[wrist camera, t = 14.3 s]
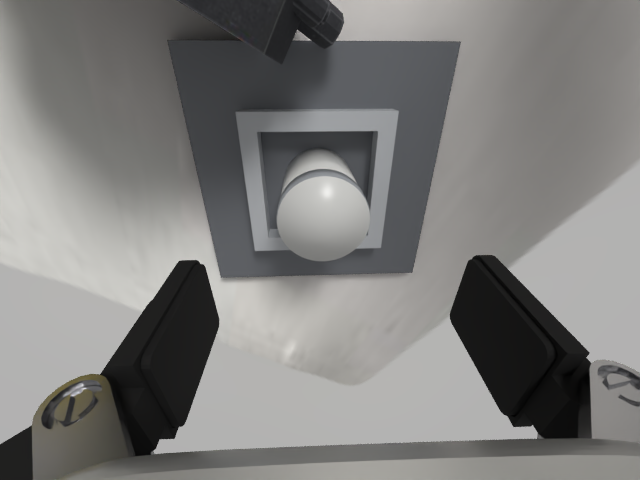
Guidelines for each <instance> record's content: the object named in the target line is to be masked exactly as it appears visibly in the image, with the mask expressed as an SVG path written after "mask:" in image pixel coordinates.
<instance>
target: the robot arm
mask: <svg viewBox="0 0 640 480" xmlns="http://www.w3.org/2000/svg"><path fill="white" fill-rule="evenodd" d="M450 320H451V323H452V325H453V326H454V328H455V330H456V332H457V333H458V335H459V337H460V339H461V341H462V342H463V344H464V346H465V348H466V350H467V352H468V354H469V355H470V357H471V359H472V361H473V362H474V364H475V366H476V368H477V370H478V372H479V373H480V375H481V377H482V379H483V381H484V382H485V384H486V386H487V388H488V390H489V391H490V393H491V395H492V397H493V399H494V400H495V402H496V404H497V406H498V407H499V409H500V411H501V412H502V413H503V414H504V415H506V416H508V418H509V419H510V421H511V423H512V425H513V427H522V426H523V427H524V426H532V425H533V426H534V427H535V429H536V430H537V432H538V437H537V439H508V440H479V441H478V440H475V441H443V442H413V443H387V444H386V443H385V444H357V445H333V446H332V445H330V446H307V447H306V446H304V447H280V448H258V449H257V448H256V449H232V450H213V451H198V452H197V451H196V452H180V453H164V454H154V452H153V450H155V449H156V447H157V444H158V442H159V439H174V438H175V435H176V433H177V430H178V427H179V426H180V427H181V426H183V425H184V424H185V422H186V420H187V417H188V414H189V411H190V408H191V405H192V402H193V399H194V397H195V394H196V391H197V388H198V385H199V382H200V379H201V377H202V374H203V371H204V368H205V365H206V362H207V359H208V357H209V354H210V351H211V348H212V345H213V342H214V339H215V337H216V334H217V331H218V328H219V316H218V313H217V309H216V305H215V301H214V298H213V294H212V290H211V287H210V283H209V279H208V275H207V272H206V268H205V266H204V265H203V264H200V263H199V261H197V260H185V261H179V262H178V263H177V265H176V266H175V268H174V269H173V270H172V272H171V273H170V275H169V276H168V278H167V279H166V281H165V282H164V284H163V285H162V287H161V288H160V290H159V291H158V293H157V294H156V296H155V297H154V299H153V300H152V301H151V302H150V303H149V304H148V305H147V306H146V308H145V309H144V311H143V312H142V314H141V315H140V317H139V318H138V320H137V321H136V323H135V324H134V326H133V327H132V329H131V330H130V331H129V333H128V334H127V336H126V337H125V339H124V340H123V342H122V343H121V345H120V346H119V348H118V349H117V351H116V352H115V354H114V355H113V356H112V358H111V359H110V361H109V362H108V364H107V365H106V367H105V368H104V370H103V371H102V373H101V374H100V375H99V374H89V375H85V376H80V377H78V378H76V379H73V380H71V381H69V382H67V383H65V384H64V385H62V386H61V387H59V388H58V389H56V390H55V391H54V392H53V393H52V394H50V395H49V396H48V397H47V398H46V399H45V401H44V402H43V403H42V404H41V405H40V406H39V408H38V410H37V411H36V413H35V415H34V418H33V422H32V426H30V427H29V428H27V429H25V430H23V431H22V432H20V433H19V434H17V435H15V436H13V437H12V438H10V439H8V440H7V441H5V442H4V443H2V444H0V480H640V373H639V372H637V371H636V370H634V369H632V368H630V367H628V366H626V365H623V364H620V363H617V362H614V361H609V360H597V361H594V362H593V363H590V361H589V360H588V359H587V358H586V357H587V356H588V355H589V352H588V351H587V350H586V349H585V348H584V347H583V346H582V345H581V344H580V342H579V341H577V339H576V338H575V337H574V336H573V335H572V334H571V333H570V332H569V331H568V330H567V329H566V328H565V327H564V326H563V325H562V324H561V323H560V322H559V321H558V320H557V319H556V318H555V317H554V316H553V315H552V314H551V313H550V312H549V311H548V310H547V309H546V308H545V307H544V306H543V305H542V304H541V303H540V302H539V301H538V300H537V299H536V298H535V297H534V296H533V295H532V294H531V293H530V291H529V290H528V289H527V288H526V287H525V286H524V285H523V284H522V283H521V282H520V281H518V279H517V278H516V277H515V276H514V275H513V274H512V273H511V272H510V271H509V270H508V269H507V268H506V267H505V266H504V265H503V264H502V263H501V262H500V261H499V260H498V259H497V258H496V257H495V256H493V255H476V256H474V257H473V258H472V260H469V261H468V263H467V266H466V269H465V271H464V274H463V277H462V280H461V283H460V286H459V289H458V292H457V295H456V298H455V300H454V303H453V306H452V309H451V312H450Z"/></svg>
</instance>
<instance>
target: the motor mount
mask: <svg viewBox="0 0 640 480" xmlns="http://www.w3.org/2000/svg"><path fill="white" fill-rule="evenodd" d="M167 41H168V45H169V50H170V54H171V59H172V63H173V67H174V72H175V76H176V81H177V85H178V90H179V94H180V98H181V103H182V107H183V112H184V116H185V120H186V125H187V129H188V134H189V138H190V143H191V147H192V151H193V156H194V160H195V165H196V169H197V173H198V178H199V182H200V187H201V191H202V196H203V200H204V204H205V209H206V213H207V218H208V222H209V226H210V231H211V235H212V240H213V244H214V249H215V253H216V257H217V262H218V266H219V271H220V275H221V278H222V277H260V276H299V275H337V274H376V273H412V272H413V267H414V262H415V257H416V253H417V248H418V243H419V238H420V234H421V229H422V224H423V219H424V214H425V210H426V205H427V200H428V195H429V191H430V186H431V181H432V176H433V172H434V167H435V162H436V157H437V152H438V148H439V143H440V138H441V133H442V129H443V124H444V119H445V114H446V110H447V105H448V100H449V95H450V91H451V86H452V81H453V76H454V71H455V67H456V62H457V57H458V52H459V48H460V43H461V42H437V41H335V42H334V44H333V45H331V46H330V47H328V48H326V49H323V48H321V47H320V46H318V45H317V44H316V43H314V42H313V41H292V43H291V45H290V47H289V50H288V52H287V54H286V57H285V59H284V62H283V64H282V65H281V64H279V63H277V62H276V61H274V60H272V59H271V58H269V57H267V56H265V55H264V54H262V53H261V52H259V51H257V50H256V49H254V48H253V47H251V46H249V45H248V44H246V43H245V42H243V41H238V40H167ZM313 148H323V149H328V150H331V151H333V152H335V153H337V154H338V155H340V156H341V157H342V158H343V159H344V161H345V162H346V163H347V165H348V167H349V169H350V171H351V173H352V175H353V177H354V179H355V181H356V182H357V184H358V186H359V187H360V189H361V190H362V192H363V194H364V196H365V198H366V200H367V202H368V205H369V209H370V224H369V229H368V232H367V234H366V236H365V238H364V240H363V241H362V243H361V244H360V245H359V246H358V247H357V248H356V249H355V250H354V251H352V252H351V253H349V254H348V255H346V256H344V257H341V258H339V259H336V260H331V261H313V260H309V259H305V258H303V257H301V256H299V255H297V254H295V253H294V252H292V251H291V250H290V249H289V248H288V247H287V246H286V245H285V243H284V242H283V240H282V239H281V236H280V234H279V232H278V228H277V222H276V216H277V209H278V204H279V200H280V197H281V193H282V188H283V183H284V177H285V173H286V170H287V167H288V165H289V164H290V162H291V161H292V160H293V159H294V158H295V157H296V156H297V155H298V154H300V153H302V152H304V151H306V150H309V149H313Z"/></svg>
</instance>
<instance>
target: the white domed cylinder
mask: <svg viewBox="0 0 640 480" xmlns="http://www.w3.org/2000/svg"><path fill="white" fill-rule="evenodd" d="M276 222H277V228H278V232H279V234H280V236H281V239H282V240H283V242H284V243H285V245H286V246H287V247H288V248H289V249H290V250H291V251H292V252H294V253H295V254H297V255H299V256H301V257H303V258H305V259H309V260H313V261H331V260H336V259H339V258H341V257H344V256H346V255H348V254H349V253H351V252H352V251H354V250H355V249H356V248H357V247H358V246H359V245H360V244H361V243H362V241H363V240H364V238H365V236H366V234H367V232H368V229H369V224H370V209H369V205H368V202H367V200H366V198H365V196H364V194H363V192H362V190H361V189H360V187H359V186H358V184H357V182H356V181H355V179H354V177H353V175H352V173H351V171H350V169H349V167H348V165H347V163H346V162H345V161H344V159H343V158H342V157H341V156H340V155H338V154H337V153H335V152H333V151H331V150H328V149H323V148H313V149H309V150H306V151H304V152H302V153H300V154H298V155H297V156H296V157H295V158H294V159H293V160H292V161H291V162H290V164H289V165H288V167H287V170H286V173H285V177H284V183H283V188H282V193H281V197H280V200H279V204H278V209H277V216H276Z"/></svg>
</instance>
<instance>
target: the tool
mask: <svg viewBox="0 0 640 480" xmlns="http://www.w3.org/2000/svg"><path fill="white" fill-rule="evenodd" d="M177 1H179V2H181V3H182V4H184V5H185V6H187V7H189V8H190V9H192V10H193V11H195V12H197V13H198V14H200V15H201V16H203V17H205V18H206V19H208V20H209V21H211V22H213V23H214V24H216V25H217V26H219V27H221V28H222V29H224V30H225V31H227V32H229V33H230V34H232V35H233V36H235V37H237V38H238V39H240V40H241V41H243V42H245V43H246V44H248V45H249V46H251V47H253V48H254V49H256V50H257V51H259V52H261V53H262V54H264V55H265V56H267V57H269V58H271V59H272V60H274V61H276V62H277V63H279V64H281V65H282V64H283V62H284V59H285V57H286V54H287V52H288V50H289V47H290V45H291V43H292V40H293V38H294V35H295V33H296V31H297V29H298V30H299V31H300V32H301V33H303V34H304V35H305V36H307V37H308V38H309V39H311V40H312V41H313V42H314V43H316V44H317V45H318V46H320V47H321V48H323V49H326V48H328V47H330V46H331V45H333V44H334V42H335V41H336V39H337V37H338V36H339V34H340V32H341V29H342V26H343V24H344V19H343V13H341V12H340V11H339V10H338V9H337V8H336V7H335V6H334V5H333V4H332V3H331V2H330V1H329V0H177Z"/></svg>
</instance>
